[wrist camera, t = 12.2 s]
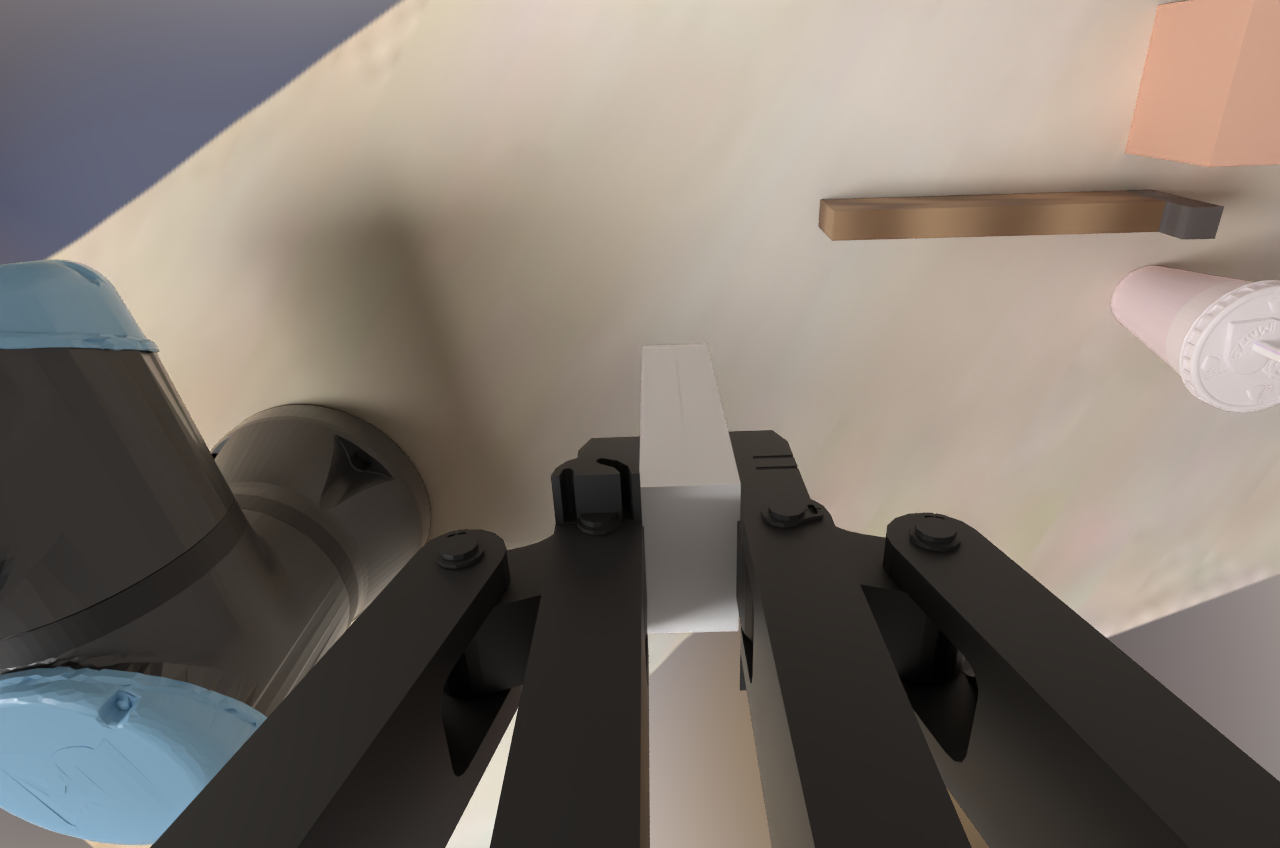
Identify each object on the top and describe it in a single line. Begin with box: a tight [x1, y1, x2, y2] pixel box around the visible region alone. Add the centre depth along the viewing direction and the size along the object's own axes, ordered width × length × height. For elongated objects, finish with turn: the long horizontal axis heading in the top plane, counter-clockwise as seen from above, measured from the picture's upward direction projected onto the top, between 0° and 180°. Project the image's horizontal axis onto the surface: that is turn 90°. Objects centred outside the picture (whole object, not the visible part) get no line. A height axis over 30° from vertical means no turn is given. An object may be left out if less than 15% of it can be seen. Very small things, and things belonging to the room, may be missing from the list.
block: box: [1125, 0, 1280, 167], centre depth 35 cm, size 7×7×7 cm
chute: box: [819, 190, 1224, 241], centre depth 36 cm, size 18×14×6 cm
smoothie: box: [1111, 266, 1280, 412], centre depth 37 cm, size 6×6×14 cm
